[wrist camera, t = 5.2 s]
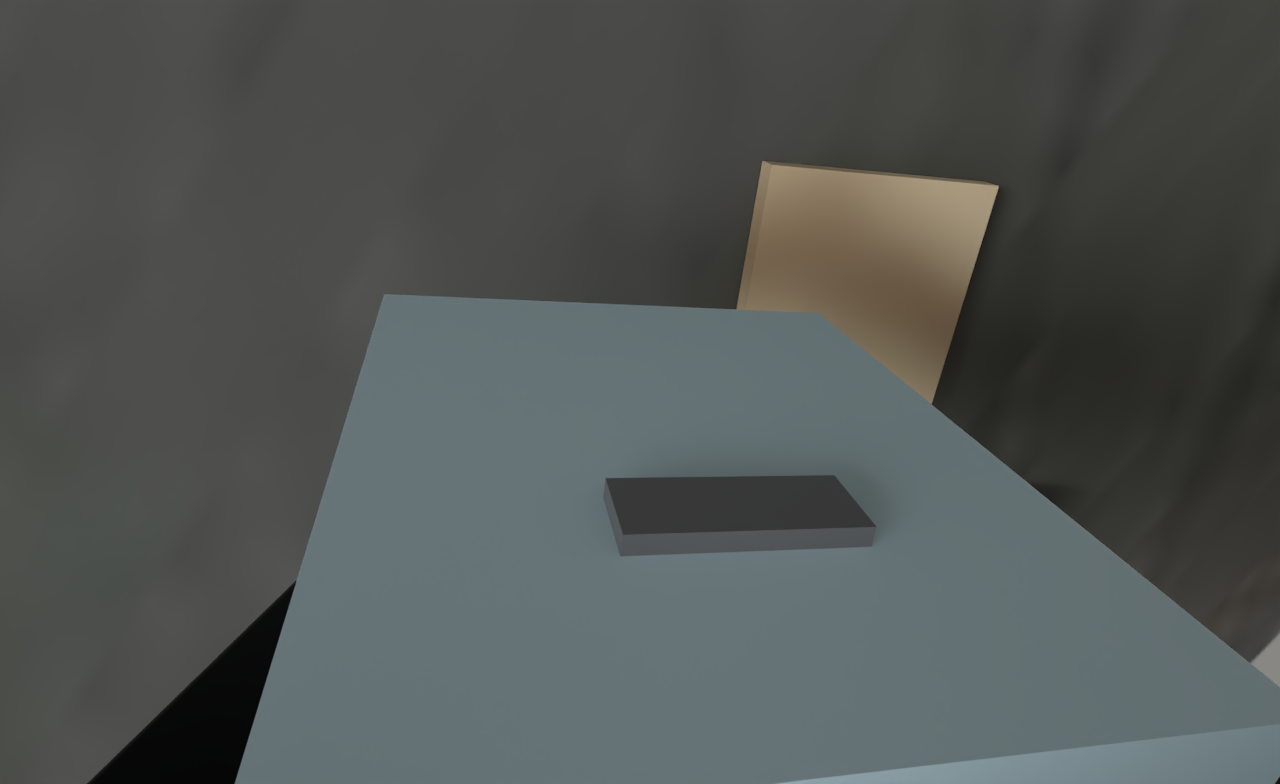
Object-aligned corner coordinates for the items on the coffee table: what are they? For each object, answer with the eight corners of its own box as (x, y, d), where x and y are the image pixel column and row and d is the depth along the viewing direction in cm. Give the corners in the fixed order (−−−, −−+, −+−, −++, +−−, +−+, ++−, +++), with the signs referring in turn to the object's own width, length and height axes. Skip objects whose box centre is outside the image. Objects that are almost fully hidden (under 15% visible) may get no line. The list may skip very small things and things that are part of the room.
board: (920, 395, 21) (931, 404, 21) (721, 392, 20) (728, 401, 19) (984, 181, 19) (998, 185, 18) (762, 160, 17) (771, 165, 17)
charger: (722, 734, 12) (924, 1289, 7) (398, 767, 11) (334, 1471, 6) (821, 301, 9) (1335, 698, 4) (383, 280, 8) (209, 819, 2)
